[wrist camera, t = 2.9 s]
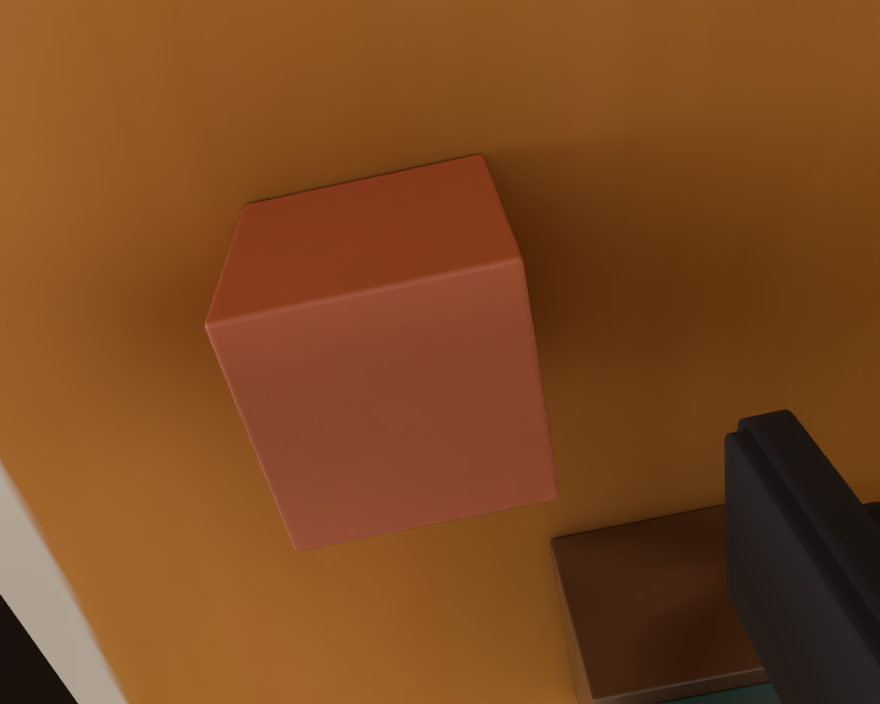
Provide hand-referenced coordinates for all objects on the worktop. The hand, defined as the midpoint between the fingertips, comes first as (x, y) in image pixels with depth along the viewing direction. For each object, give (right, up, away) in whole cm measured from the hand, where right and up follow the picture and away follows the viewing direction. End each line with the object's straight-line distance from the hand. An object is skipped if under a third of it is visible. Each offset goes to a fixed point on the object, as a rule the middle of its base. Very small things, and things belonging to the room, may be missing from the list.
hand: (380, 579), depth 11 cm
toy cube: (0, +4, +7) cm, 9 cm away
